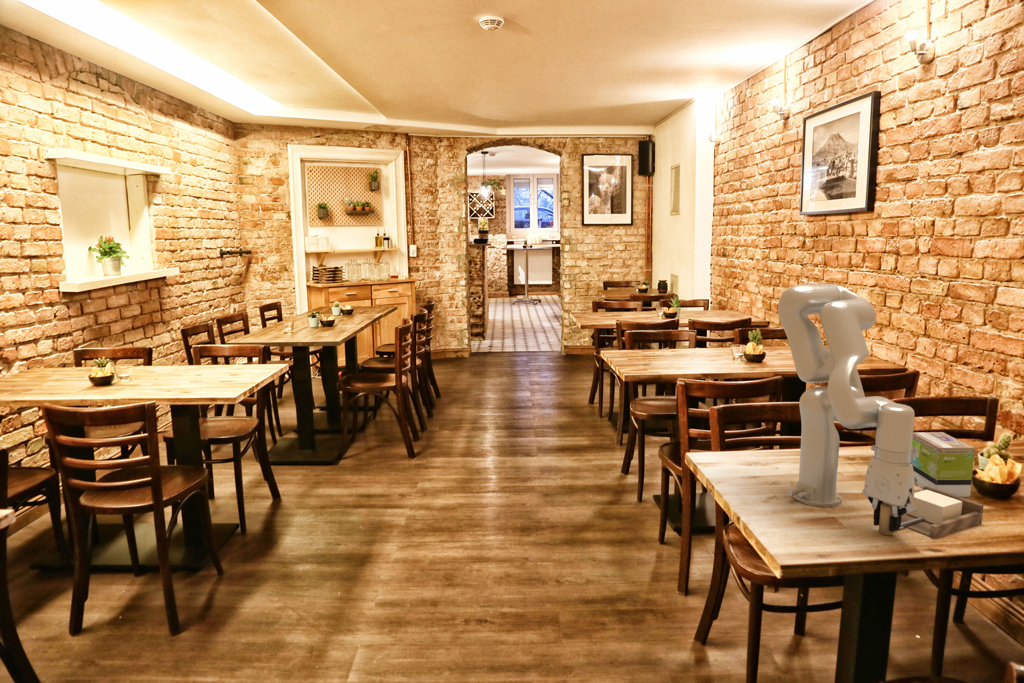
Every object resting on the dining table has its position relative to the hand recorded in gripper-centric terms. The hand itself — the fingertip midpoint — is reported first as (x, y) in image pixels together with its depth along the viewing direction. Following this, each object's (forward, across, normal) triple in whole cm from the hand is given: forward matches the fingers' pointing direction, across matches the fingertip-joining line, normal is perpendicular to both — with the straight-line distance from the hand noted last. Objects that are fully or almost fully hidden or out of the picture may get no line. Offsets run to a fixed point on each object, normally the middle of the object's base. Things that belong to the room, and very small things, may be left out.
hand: (886, 526), depth 162 cm
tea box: (+2, -12, +42) cm, 44 cm away
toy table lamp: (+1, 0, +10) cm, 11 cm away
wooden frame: (+2, 0, +17) cm, 17 cm away
